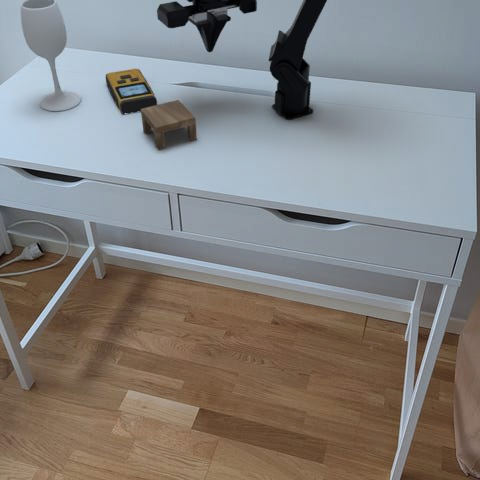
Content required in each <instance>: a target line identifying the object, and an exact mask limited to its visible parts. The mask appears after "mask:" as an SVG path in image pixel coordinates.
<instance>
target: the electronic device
mask: <svg viewBox="0 0 480 480" xmlns="http://www.w3.org/2000/svg"><path fill="white" fill-rule="evenodd" d="M105 82H106V86H107V88H108V90H109V92H110V94H111V96H112V99H113V100H114V102H115V103H116V105H117V108H119V110H120V112H121V114H122V115H126V114H125V113H128V114H132V113H131V112H133V113H137V111H139V112H141V109H143V108H147V107H151V106H155V105H158V100H157V98H156V96H155V93H154V91H153V89H152V87H151V86H150V83H148V81H147V79H146V77H145V76H144V75H143V73H142V72H141V70H140V69H139V68H131V69H125V70H119V71H118V70H117V71H113V72H107V73H106V74H105Z"/></svg>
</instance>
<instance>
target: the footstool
mask: <svg viewBox="0 0 480 480" xmlns="http://www.w3.org/2000/svg"><path fill="white" fill-rule="evenodd" d="M140 113H141V116H140V117H141V123H142V130H143V131H142V132H143V133H144V134H145V135H147V134H152V133H153V131H154V140H155V147H156V149H157V150H158V151H160V150H164V149H165V148H166V145H165V136H164V133H166V132H170V131H174V130H178V129H182V128H185V127H186V130H187V139H188V140H189V141H190V142H192V141H197V140H198V139H197V124H196V123H197V122H196V117H195V115H194V114H193V113H192V112H191V111H190V110H189V109H188V108H187V107H186V106H185V105H184V103H182V102H181V101H180V100H179V99H176V100H172V101H168V102H164V103H160V104H157V105H155V106H151V107H147V108H143V109H141V111H140ZM152 130H153V131H152Z"/></svg>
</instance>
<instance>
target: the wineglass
mask: <svg viewBox="0 0 480 480" xmlns="http://www.w3.org/2000/svg"><path fill="white" fill-rule="evenodd" d="M20 21H21V28H22V32H23V37H24V41H25V42H26V43H25V44H26V45H27V47H28V48H29V49H30V51H32V53H34V54H35V55H36V56H38V57H39V58H42V59H45V60H46V61H47V62H48V65H49V68H50V71H51V75H52V81H53V86H54V92H51V93H48V94H46V95H45V96H43V97H42V98H41V99H40V101H39V106H40V108H42V109H43V110H46V111H49V112H63V111H67V110H70V109H74V108H75V107H76V106H78V105H79V104H80V103H81V101H82V97H81V96H80V95H79V93H76V92H73V91H67V90H62V89H61V85H60V82H59V77H58V74H57V73H58V72H57V68H56V58H57V57H59V56H60V54H62V53H63V52H64V50H65V48H66V45H67V42H68V41H67V40H68V39H67V37H68V36H67V35H68V34H67V30H66V29H67V28H66V24H65V21H64V17H63V15H62V12H61V9H60V6H59V5H58V3H57V1H56V0H24V1H22V2H21V3H20Z"/></svg>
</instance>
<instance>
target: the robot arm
mask: <svg viewBox="0 0 480 480" xmlns="http://www.w3.org/2000/svg"><path fill="white" fill-rule="evenodd" d="M186 1H187V2H188V3H191V4H190V5H185V6H183V5H182V4H181V3H179V2H178V1H176V0H175V1H171V2H166V3H160V4H159V5H158V7H157V10H156V15H157V16H156V17H157V20H158V21H159V22H160V23H162V24H163V25H164V26H166V27H167V29H177V28H181V27H185V26H186V25H188V23H189V22H190V23H191V24H193V26H195V27H196V29H197V31H198V33H199V35H200V38H201V40H202V42H203V45H204V47H205V50H206V52H208V53H212V52H213V51H214V49H215V48H216V44H217V41H218V40H219V37H220V36H221V34H222V31H223V30H224V27H225V26H226V24H227V23H228V22H230V21H231V19H232V18H231V16H229V15H228V11H229V10H230V9H235V8H239V9H238V10H239V11H240V12H241V13H242V14H245V15H246V14H249V13H256V12H257V10H258V1H257V0H186ZM327 1H328V0H303V1H302V2H301V5H300V7H299V9H298V11H297V14H296V15H295V18H294V20H293V22H292V24H291V26H290V27H289V29H288V30H287V31H286V32H284V31H282V30H280V29H279V30H278V33H277V37H276V40H275V42H274V43H273V44H272V45H271V47H270V51H269V55H268V62H270V64H269V71H270V74H271V76H272V77H273V79H274V80H277V84H276V90H275V92H274V103H273V104H272V107H271V108H273V109H274V110H275V111H276V112H277V113H279V115H281V116H282V117H283V118H285V120H291V119H295V118H299V117H302V116H306V115H310V114H313V113H314V109H313V108H311V107H310V101H311V89H312V82H311V81H310V67H311V65H310V64H309V63H308V62H307V61H306V60H305V58H303V57H304V55H305V50H306V46H307V42H308V40H309V38H310V35H311V34H312V32H313V30H314V28H315V25H316V24H317V22H318V19H319V17H320V15H321V13H322V12H323V9H324V7H325V6H326V4H327Z"/></svg>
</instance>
